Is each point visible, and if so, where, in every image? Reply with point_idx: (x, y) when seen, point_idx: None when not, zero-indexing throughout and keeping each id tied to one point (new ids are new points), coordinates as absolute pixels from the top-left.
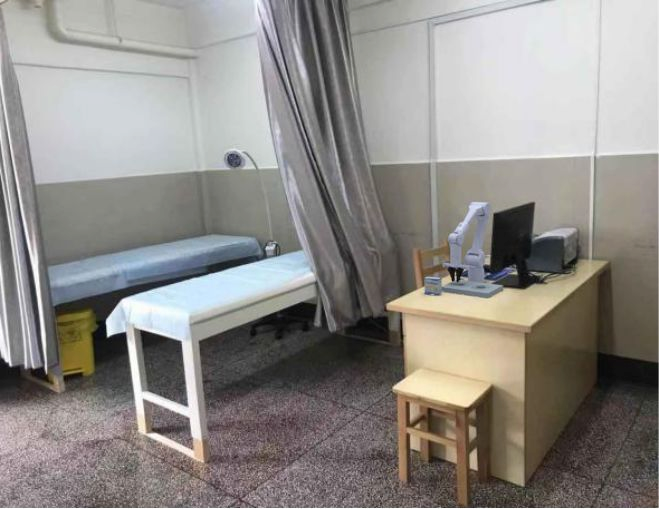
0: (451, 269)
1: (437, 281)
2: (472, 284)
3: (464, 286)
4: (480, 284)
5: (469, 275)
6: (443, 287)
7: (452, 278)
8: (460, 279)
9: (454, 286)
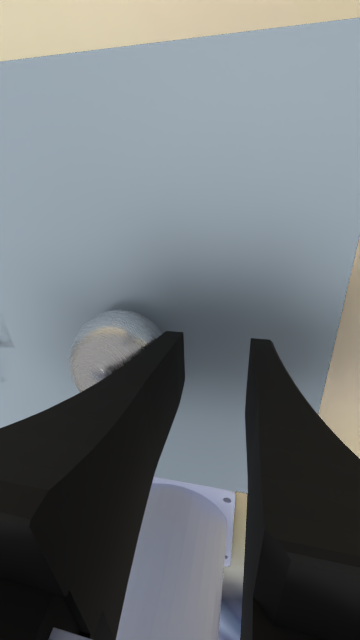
0: (267, 575)
1: None
2: (57, 386)
3: (61, 276)
4: (7, 407)
5: (183, 564)
6: (329, 21)
7: (251, 364)
8: (100, 356)
9: (167, 209)
